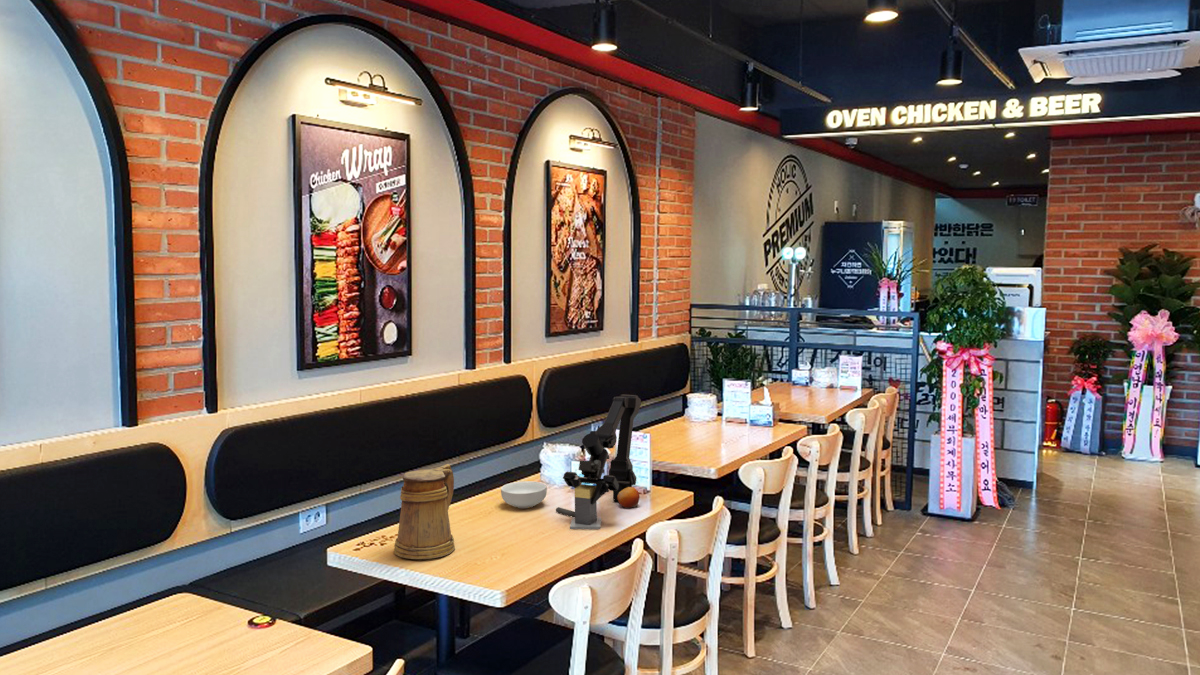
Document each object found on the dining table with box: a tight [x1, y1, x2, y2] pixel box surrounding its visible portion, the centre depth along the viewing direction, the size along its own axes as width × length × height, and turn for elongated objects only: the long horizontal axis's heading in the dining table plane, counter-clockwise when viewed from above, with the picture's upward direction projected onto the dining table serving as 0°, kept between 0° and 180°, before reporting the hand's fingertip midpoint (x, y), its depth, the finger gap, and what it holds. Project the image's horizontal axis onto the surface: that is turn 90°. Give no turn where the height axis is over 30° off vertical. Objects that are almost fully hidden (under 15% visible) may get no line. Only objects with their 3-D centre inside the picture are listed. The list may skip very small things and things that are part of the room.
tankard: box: [393, 463, 456, 560], centre depth 276 cm, size 18×24×25 cm
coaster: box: [569, 517, 602, 530], centre depth 299 cm, size 10×10×1 cm
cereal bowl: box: [500, 480, 548, 509], centre depth 324 cm, size 17×17×7 cm
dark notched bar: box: [555, 506, 575, 518], centre depth 311 cm, size 14×2×2 cm, turn 44°
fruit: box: [617, 486, 640, 509], centre depth 321 cm, size 8×8×8 cm
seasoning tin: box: [574, 483, 598, 525], centre depth 299 cm, size 6×6×12 cm
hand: (584, 503), depth 298 cm, fingers closed on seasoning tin, 5 cm apart
